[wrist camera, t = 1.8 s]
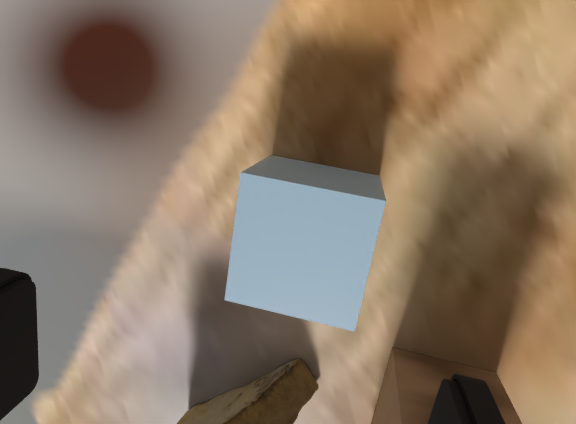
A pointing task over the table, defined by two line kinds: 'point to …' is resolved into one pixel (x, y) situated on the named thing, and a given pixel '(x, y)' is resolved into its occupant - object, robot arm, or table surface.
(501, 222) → the table surface
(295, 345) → the table surface
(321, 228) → the blue block
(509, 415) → the tower base
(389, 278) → the table surface
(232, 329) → the table surface
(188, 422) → the rock
